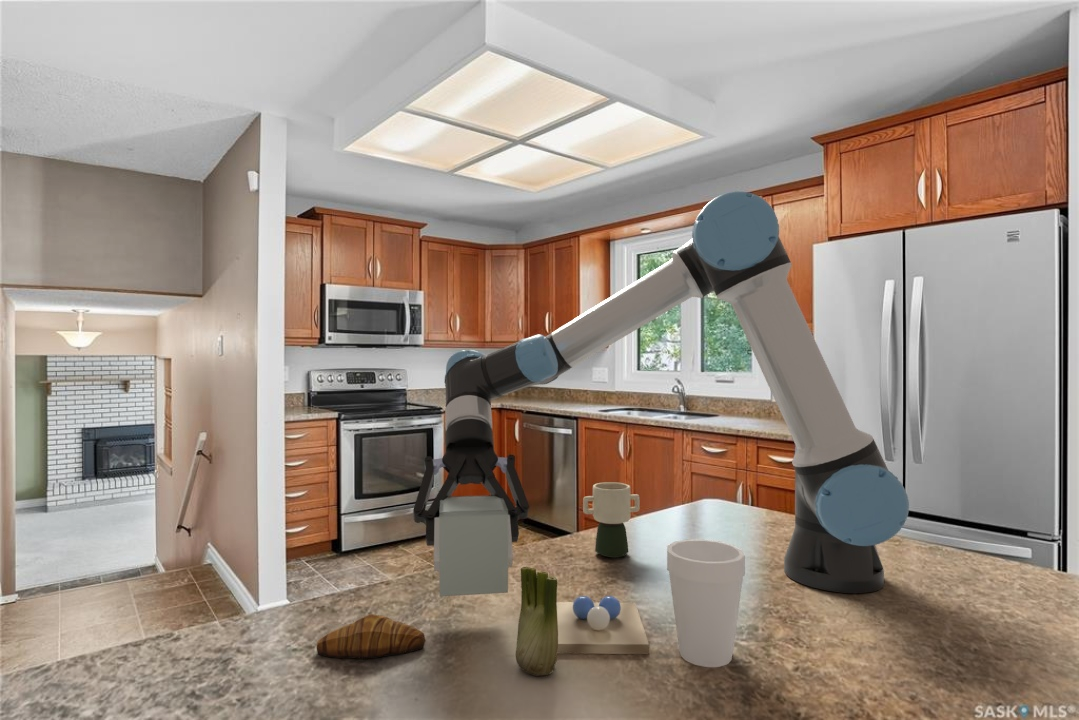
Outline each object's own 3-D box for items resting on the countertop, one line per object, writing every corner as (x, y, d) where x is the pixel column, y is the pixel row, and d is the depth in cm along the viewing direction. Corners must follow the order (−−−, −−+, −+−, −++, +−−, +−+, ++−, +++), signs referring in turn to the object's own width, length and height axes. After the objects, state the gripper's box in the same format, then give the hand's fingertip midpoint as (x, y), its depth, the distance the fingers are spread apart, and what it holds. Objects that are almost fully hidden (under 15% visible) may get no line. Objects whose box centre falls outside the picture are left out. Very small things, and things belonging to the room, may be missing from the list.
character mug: (633, 547, 119) (633, 481, 119) (645, 559, 112) (645, 488, 112) (579, 550, 117) (578, 483, 117) (587, 563, 110) (587, 491, 110)
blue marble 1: (593, 613, 86) (593, 592, 85) (595, 623, 83) (595, 601, 82) (572, 613, 86) (572, 592, 86) (573, 623, 83) (572, 600, 83)
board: (635, 610, 89) (635, 602, 89) (649, 654, 76) (649, 644, 76) (525, 610, 90) (525, 602, 90) (521, 653, 77) (521, 643, 77)
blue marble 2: (619, 613, 85) (619, 592, 85) (621, 623, 82) (621, 601, 82) (598, 613, 86) (597, 592, 85) (599, 623, 82) (599, 601, 82)
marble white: (608, 624, 82) (608, 602, 82) (611, 634, 79) (610, 611, 79) (586, 624, 82) (586, 602, 82) (587, 634, 79) (587, 611, 79)
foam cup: (749, 677, 71) (749, 565, 71) (667, 670, 73) (667, 560, 72) (739, 640, 80) (739, 541, 80) (667, 634, 82) (666, 537, 82)
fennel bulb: (563, 679, 71) (563, 575, 71) (522, 686, 69) (522, 580, 69) (548, 655, 76) (548, 559, 76) (510, 661, 75) (510, 563, 75)
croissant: (309, 670, 73) (309, 629, 73) (322, 644, 80) (322, 606, 80) (423, 663, 75) (423, 622, 75) (427, 638, 82) (426, 600, 82)
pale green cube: (501, 569, 90) (501, 494, 90) (507, 592, 81) (508, 510, 81) (440, 572, 89) (440, 496, 89) (439, 596, 80) (439, 512, 80)
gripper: (534, 443, 102) (550, 573, 86) (400, 446, 98) (392, 581, 83) (538, 415, 96) (556, 547, 81) (398, 417, 93) (388, 555, 78)
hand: (473, 564), depth 82 cm, fingers closed on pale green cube, 9 cm apart
